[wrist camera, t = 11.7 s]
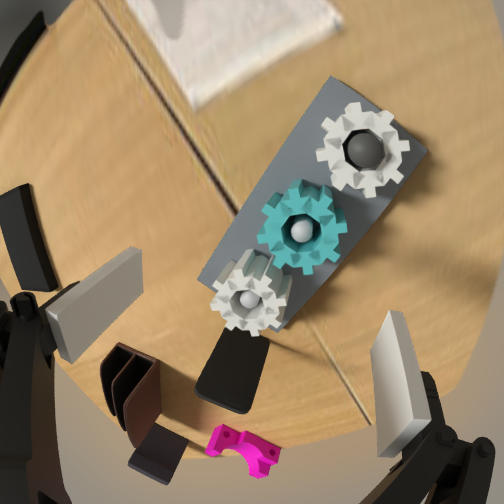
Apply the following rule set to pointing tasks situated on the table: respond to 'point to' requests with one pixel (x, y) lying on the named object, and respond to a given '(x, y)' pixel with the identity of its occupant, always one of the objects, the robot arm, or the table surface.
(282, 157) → the gear board
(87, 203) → the table surface
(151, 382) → the letter holder
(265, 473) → the magenta mounting bracket
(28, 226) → the black book
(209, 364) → the phone
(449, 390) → the table surface
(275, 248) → the teal gear
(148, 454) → the calculator
